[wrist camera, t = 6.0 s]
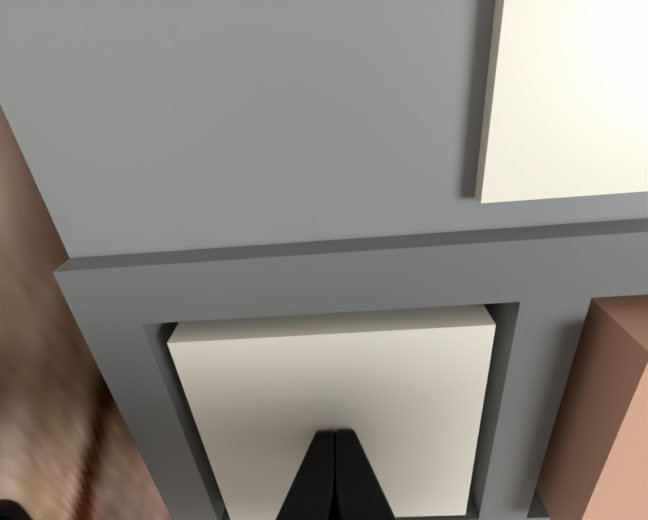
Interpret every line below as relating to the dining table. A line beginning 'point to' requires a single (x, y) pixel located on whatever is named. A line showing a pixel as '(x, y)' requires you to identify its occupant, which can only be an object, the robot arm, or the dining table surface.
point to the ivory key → (340, 400)
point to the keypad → (336, 188)
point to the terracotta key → (602, 420)
